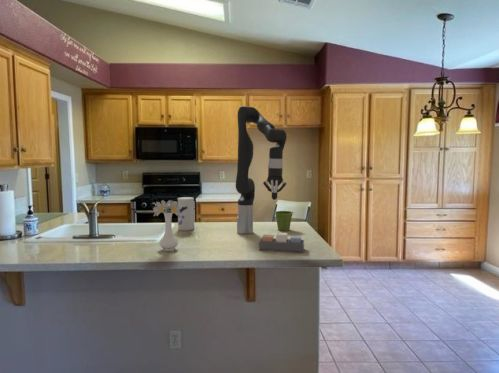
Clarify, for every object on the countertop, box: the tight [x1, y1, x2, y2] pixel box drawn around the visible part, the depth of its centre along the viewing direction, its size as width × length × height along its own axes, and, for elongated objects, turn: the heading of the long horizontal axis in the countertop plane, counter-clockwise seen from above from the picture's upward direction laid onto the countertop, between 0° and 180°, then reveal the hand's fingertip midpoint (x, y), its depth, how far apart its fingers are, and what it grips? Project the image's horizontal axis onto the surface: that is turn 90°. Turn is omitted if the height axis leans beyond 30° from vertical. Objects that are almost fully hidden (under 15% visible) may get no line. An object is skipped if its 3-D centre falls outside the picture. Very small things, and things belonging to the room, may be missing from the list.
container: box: [177, 196, 195, 232], centre depth 229 cm, size 10×10×20 cm
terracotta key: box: [261, 234, 275, 242], centre depth 182 cm, size 5×5×4 cm
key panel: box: [258, 237, 305, 254], centre depth 181 cm, size 22×8×4 cm, turn 78°
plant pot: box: [274, 210, 294, 232], centre depth 226 cm, size 12×12×11 cm
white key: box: [275, 232, 288, 243], centre depth 181 cm, size 5×5×4 cm
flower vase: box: [152, 199, 182, 252], centre depth 181 cm, size 13×18×25 cm
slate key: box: [290, 235, 302, 243], centre depth 180 cm, size 5×5×4 cm
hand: (274, 199), depth 193 cm, fingers closed
